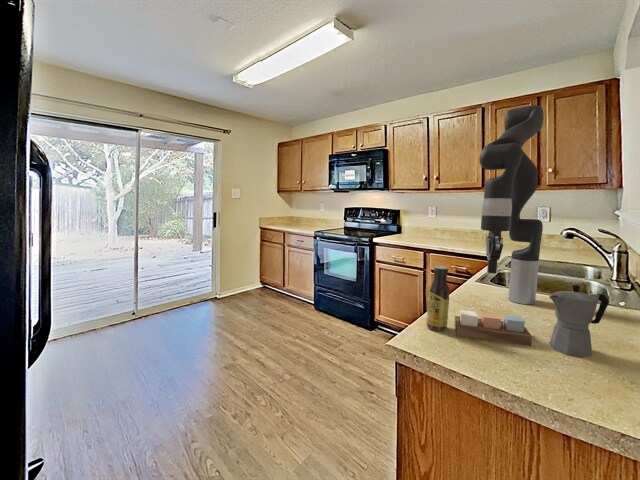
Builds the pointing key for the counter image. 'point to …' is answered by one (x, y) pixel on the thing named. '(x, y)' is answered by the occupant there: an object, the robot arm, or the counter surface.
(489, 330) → the brown button board
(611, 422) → the counter surface
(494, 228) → the robot arm
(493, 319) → the terracotta button
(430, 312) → the sauce bottle
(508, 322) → the slate button
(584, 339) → the coffeepot
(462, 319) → the cream button
